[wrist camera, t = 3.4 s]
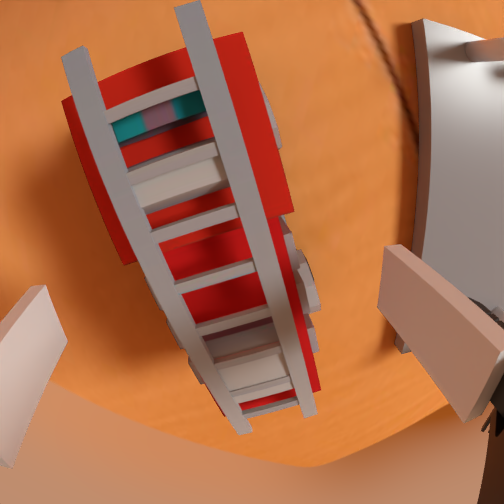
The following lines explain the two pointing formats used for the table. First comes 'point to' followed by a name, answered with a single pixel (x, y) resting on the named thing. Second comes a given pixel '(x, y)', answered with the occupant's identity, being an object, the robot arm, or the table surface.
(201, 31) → the toy fire truck
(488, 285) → the pin tray
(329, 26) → the table surface
